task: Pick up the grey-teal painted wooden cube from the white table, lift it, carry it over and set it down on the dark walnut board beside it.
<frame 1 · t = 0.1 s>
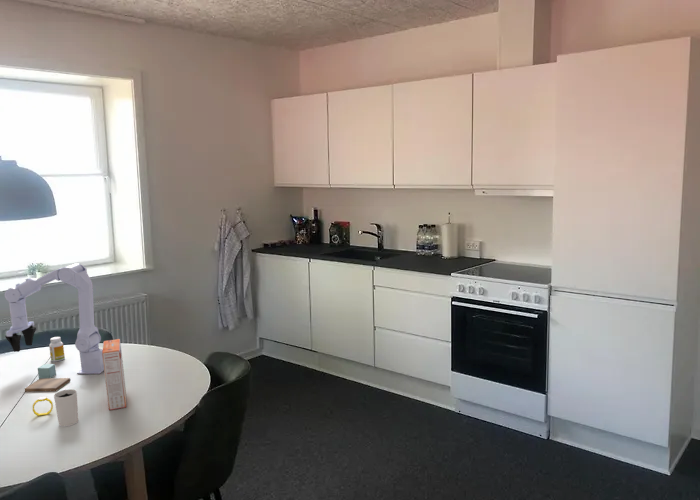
hand: (23, 348, 237), 10 cm above the table, tool pointing down, fingers open, 7 cm apart
walnut board: (48, 386, 222), on the table
supplement bottle: (58, 360, 253), on the table
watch: (43, 415, 197), on the table
white cup: (68, 423, 190), on the table
teal cube: (47, 376, 233), on the table
cracker box: (117, 402, 206), on the table
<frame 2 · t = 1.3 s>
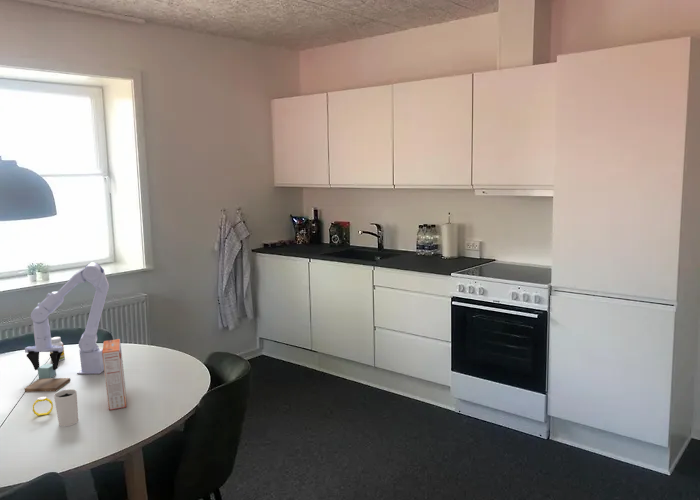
hand: (46, 369, 232), 3 cm above the table, tool pointing down, fingers open, 7 cm apart
nothing on the table moved.
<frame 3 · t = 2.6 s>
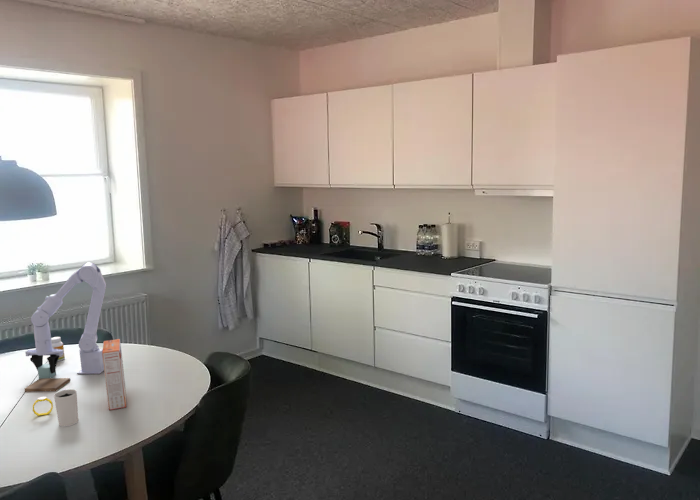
hand: (47, 372, 232), 2 cm above the table, tool pointing down, fingers closed on teal cube, 4 cm apart
teal cube: (47, 376, 233), on the table, touching gripper
everything else where it was.
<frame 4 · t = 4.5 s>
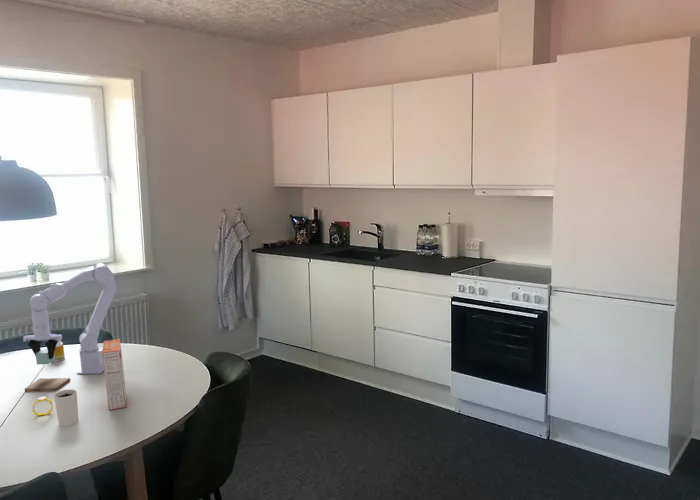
hand: (45, 358, 229), 8 cm above the table, tool pointing down, fingers closed on teal cube, 4 cm apart
teal cube: (45, 362, 229), point 7 cm above the table, touching gripper
everything else where it was.
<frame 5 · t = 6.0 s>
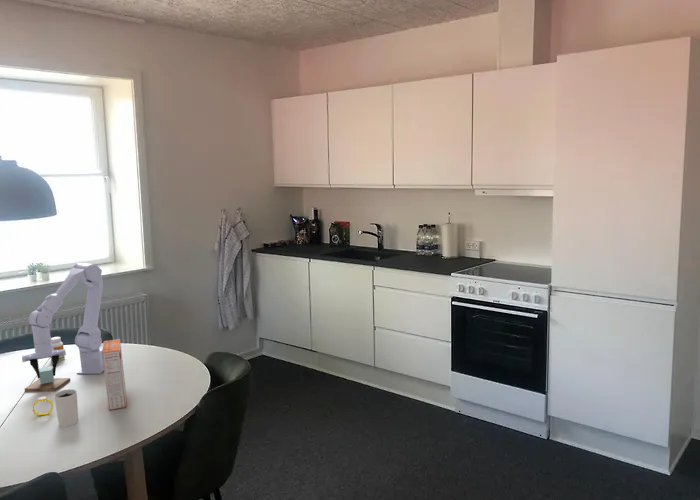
hand: (46, 376, 222), 4 cm above the table, tool pointing down, fingers closed on teal cube, 4 cm apart
teal cube: (47, 380, 222), point 2 cm above the table, touching gripper
everything else where it was.
when the fingers open (4 cm above the table, at t = 6.9 s): teal cube stays where it is, resting on walnut board.
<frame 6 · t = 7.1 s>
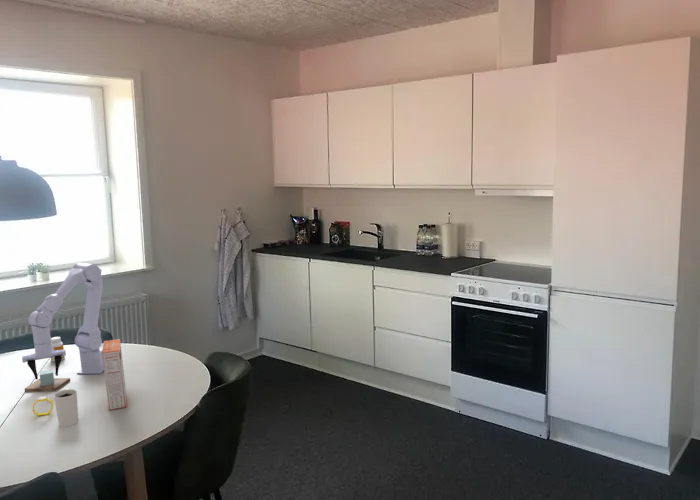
hand: (46, 376, 222), 4 cm above the table, tool pointing down, fingers open, 6 cm apart
teal cube: (47, 383, 222), point 1 cm above the table, touching walnut board
everything else where it was.
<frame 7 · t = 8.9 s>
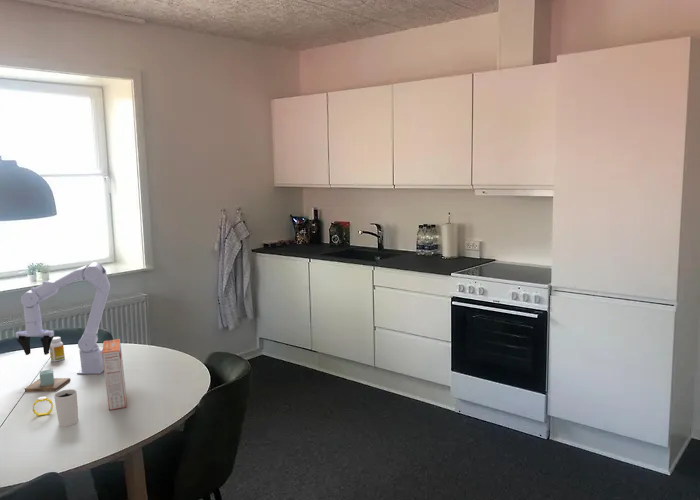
hand: (37, 354, 231), 9 cm above the table, tool pointing down, fingers open, 7 cm apart
nothing on the table moved.
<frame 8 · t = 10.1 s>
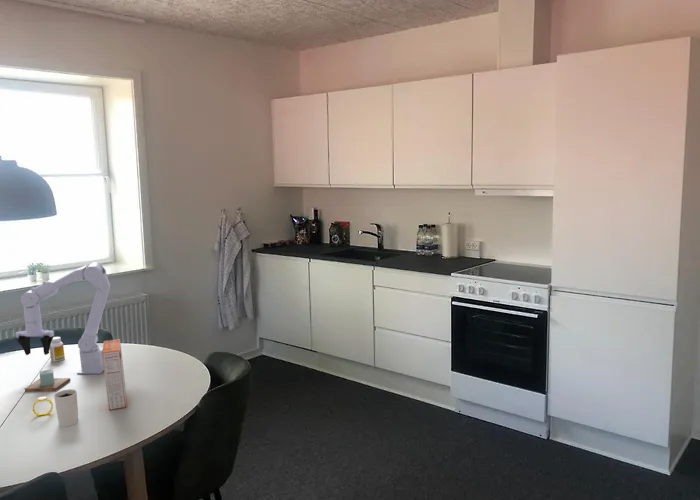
hand: (37, 354, 231), 9 cm above the table, tool pointing down, fingers open, 7 cm apart
nothing on the table moved.
at the end: teal cube inside the target area on the walnut board (0.0 cm from its centre), point 1.2 cm above the walnut board's base; teal cube tilted 0°; the gripper is holding nothing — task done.
